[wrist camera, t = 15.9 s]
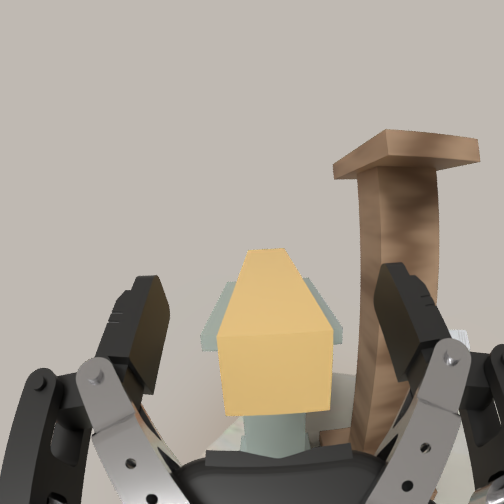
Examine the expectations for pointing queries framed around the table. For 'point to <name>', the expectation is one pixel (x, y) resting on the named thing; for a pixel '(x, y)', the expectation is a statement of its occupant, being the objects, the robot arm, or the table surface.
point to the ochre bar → (274, 341)
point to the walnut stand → (392, 257)
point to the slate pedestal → (269, 426)
